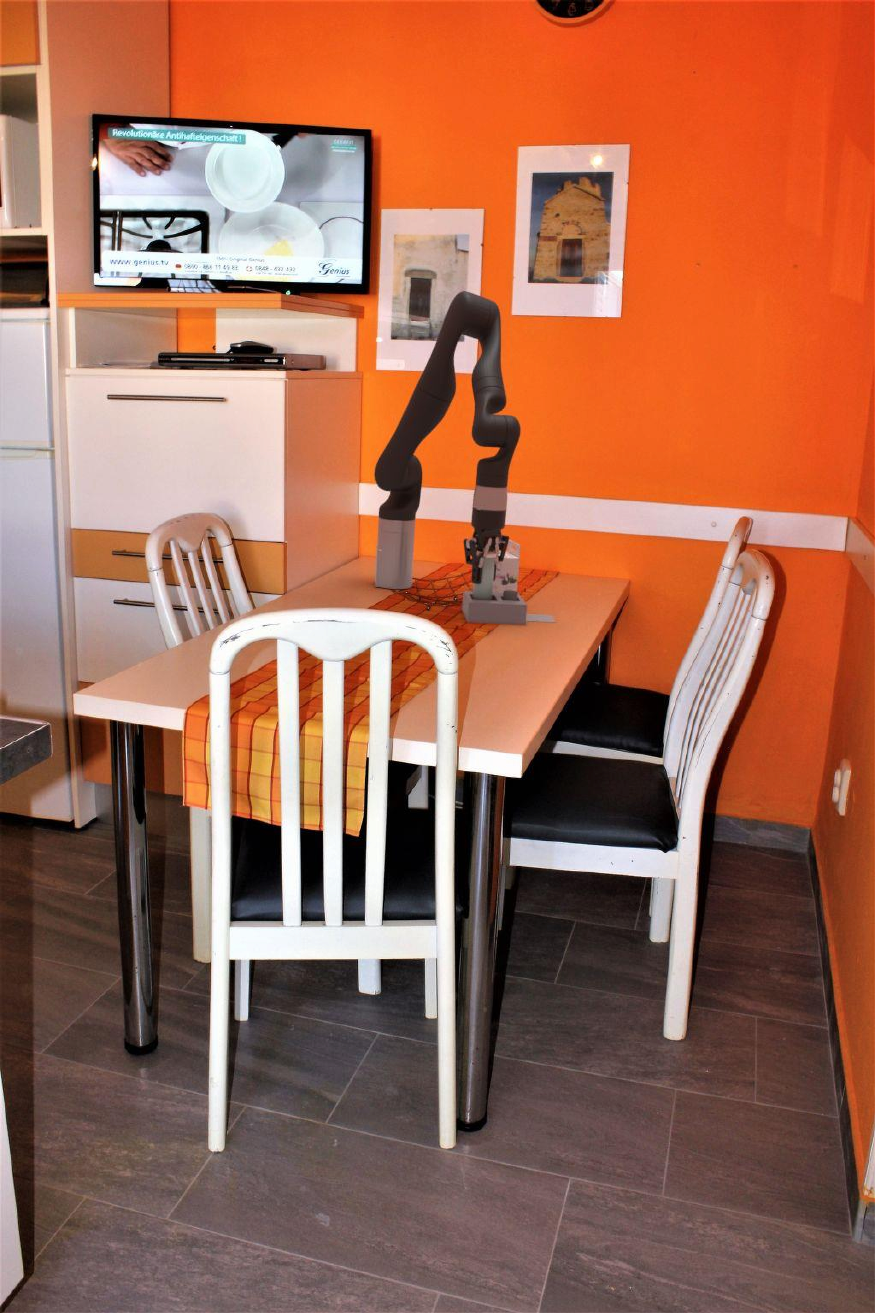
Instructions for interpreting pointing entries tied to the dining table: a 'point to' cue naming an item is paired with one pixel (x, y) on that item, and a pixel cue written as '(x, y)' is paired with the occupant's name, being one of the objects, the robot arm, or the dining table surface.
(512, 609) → the housing
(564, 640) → the dining table surface
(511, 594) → the plunger
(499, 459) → the robot arm
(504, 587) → the ink box
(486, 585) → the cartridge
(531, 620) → the mat
